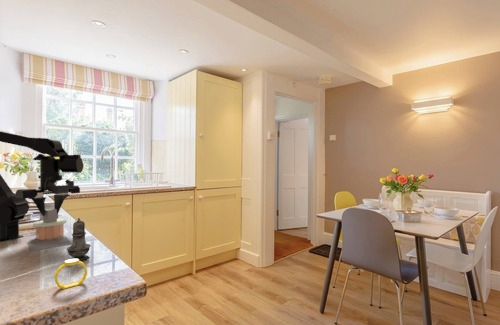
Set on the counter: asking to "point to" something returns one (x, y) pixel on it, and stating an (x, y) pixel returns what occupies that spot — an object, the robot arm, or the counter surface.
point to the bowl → (49, 232)
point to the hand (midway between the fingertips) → (50, 214)
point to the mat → (49, 244)
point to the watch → (68, 263)
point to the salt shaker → (79, 242)
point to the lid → (49, 219)
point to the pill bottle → (48, 206)
